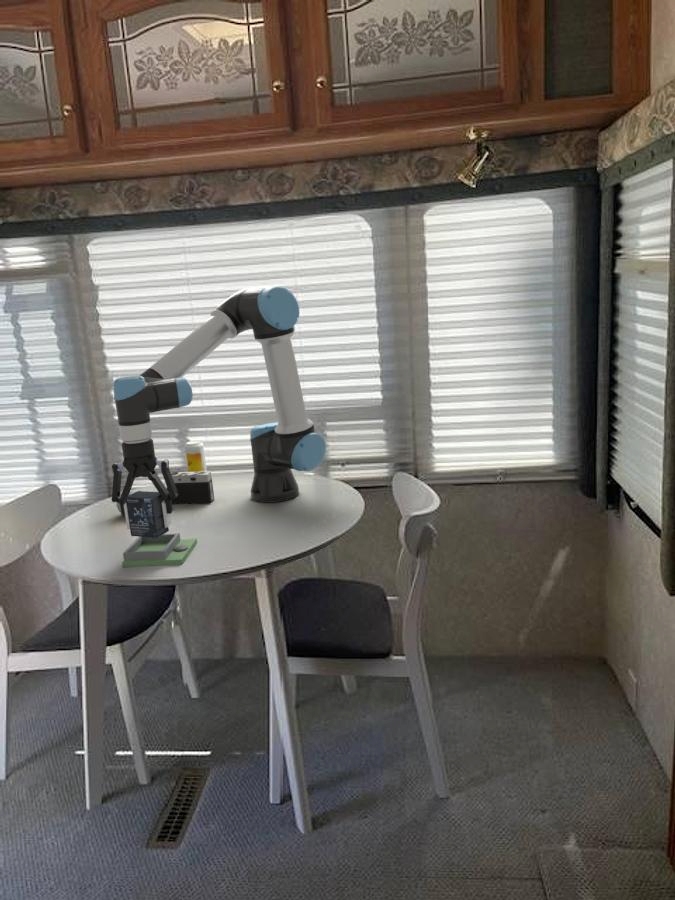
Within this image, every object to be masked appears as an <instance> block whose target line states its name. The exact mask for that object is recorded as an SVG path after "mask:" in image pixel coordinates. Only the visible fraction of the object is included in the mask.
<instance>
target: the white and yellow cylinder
mask: <svg viewBox="0 0 675 900" xmlns="http://www.w3.org/2000/svg"><path fill="white" fill-rule="evenodd" d="M184 447H185V455H186V462H187V463H186V464H187V470H188V471H187V472H200V471H208V470H207V462H206V454H205V447H204V443H203V441H202V440H191V441H188V442H186V443H185V446H184Z"/></svg>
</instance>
